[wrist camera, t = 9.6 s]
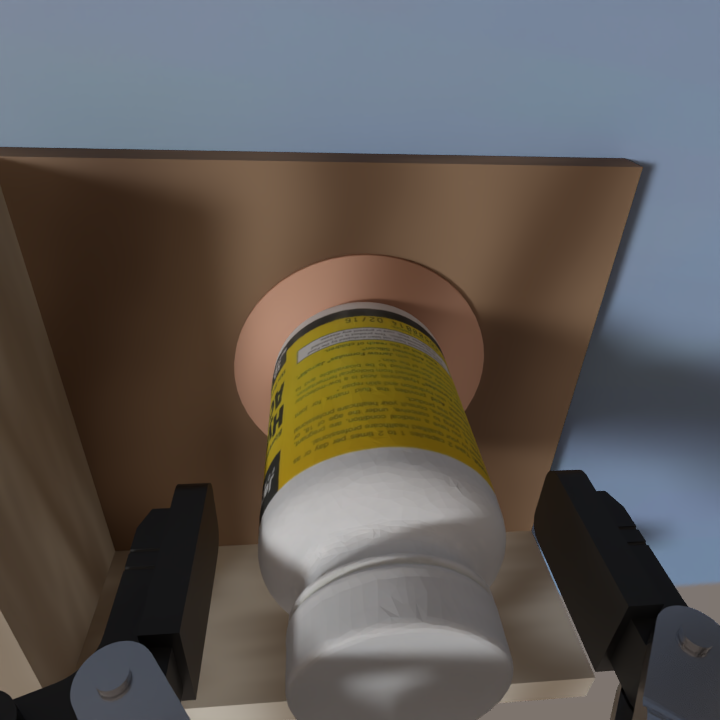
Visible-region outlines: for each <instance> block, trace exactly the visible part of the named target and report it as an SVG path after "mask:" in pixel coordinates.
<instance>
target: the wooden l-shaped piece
mask: <svg viewBox="0 0 720 720" xmlns="http://www.w3.org/2000/svg"><path fill="white" fill-rule="evenodd" d="M642 169H643V167H642V166H639V165H637V164H635V163H633V162H631V161H629V160H627V159H625V158H570V157H516V156H461V155H406V154H351V153H296V152H241V151H186V150H132V149H77V148H22V147H0V690H1V691H3V692H6V693H7V694H8V695H10V696H11V698H12V699H15V698H18V697H20V696H23V695H26V694H28V693H31V692H33V691H36V690H39V689H41V688H44V687H47V686H49V685H52V684H55V683H57V682H59V681H61V680H63V679H65V678H67V677H69V676H70V675H72V674H73V673H75V672H76V671H77V670H79V668H80V667H81V665H82V664H83V663H84V662H85V661H86V660H87V659H88V658H89V657H90V656H91V655H92V654H93V653H95V651H96V650H97V648H98V646H99V644H100V643H101V640H102V637H103V635H104V631H105V628H106V625H107V622H108V619H109V615H110V612H111V609H112V606H113V603H114V599H115V596H116V593H117V590H118V587H119V583H120V580H121V577H122V574H123V571H125V564H126V561H127V558H128V555H129V553H130V548H131V545H132V542H133V539H134V535H135V532H136V529H137V527H138V526H139V525H140V523H141V522H142V521H143V520H144V518H145V517H146V516H147V515H148V514H149V512H150V511H151V510H152V509H160V508H170V506H171V502H172V499H173V495H174V491H175V488H176V486H177V484H193V483H211V484H212V488H213V495H214V501H215V508H216V514H217V521H218V528H219V548H218V557H217V564H216V570H215V577H214V584H213V590H212V597H211V604H210V610H209V617H208V624H207V630H206V637H205V644H204V650H203V657H202V663H201V670H200V677H199V683H198V690H197V697H196V700H188V701H181V704H182V706H183V708H184V709H185V711H186V713H187V714H188V716H189V718H190V720H293V719H296V718H295V717H294V715H293V714H292V712H291V711H290V709H289V707H288V703H287V700H286V695H285V677H286V632H287V627H288V620H289V614H288V613H287V612H286V611H284V610H283V609H282V608H281V606H280V605H279V604H278V603H277V602H276V601H275V599H274V598H273V597H272V595H271V594H270V593H269V591H268V589H267V587H266V585H265V582H264V580H263V577H262V574H261V570H260V566H259V560H258V535H259V516H260V510H261V501H262V490H263V480H264V468H265V460H266V448H267V437H268V425H269V415H270V404H271V387H272V379H273V374H274V369H275V364H276V360H277V357H278V354H279V352H280V350H281V348H282V346H283V344H284V342H285V341H286V339H287V338H288V337H289V335H290V334H291V333H292V332H293V331H294V330H295V329H296V328H297V327H298V326H299V325H300V324H301V323H303V322H304V321H305V320H307V319H308V318H310V317H312V316H313V315H315V314H317V313H319V312H321V311H323V310H325V309H328V308H331V307H334V306H337V305H341V304H346V303H352V302H373V303H381V304H386V305H390V306H393V307H396V308H398V309H401V310H403V311H405V312H407V313H409V314H411V315H412V316H414V317H415V318H416V319H418V320H419V321H420V322H421V323H423V324H424V325H425V326H426V327H427V328H428V330H429V331H430V332H431V333H432V335H433V336H434V338H435V339H436V341H437V343H438V345H439V347H440V349H441V351H442V353H443V356H444V358H445V360H446V363H447V366H448V369H449V371H450V374H451V377H452V379H453V382H454V385H455V387H456V390H457V393H458V395H459V398H460V401H461V403H462V406H463V409H464V411H465V414H466V417H467V419H468V422H469V425H470V427H471V430H472V433H473V435H474V438H475V441H476V443H477V446H478V449H479V451H480V454H481V457H482V460H483V462H484V465H485V467H486V470H487V473H488V476H489V478H490V481H491V483H492V486H493V489H494V492H495V495H496V498H497V501H498V504H499V507H500V510H501V512H502V516H503V520H504V525H505V530H506V547H505V555H504V559H503V562H502V565H501V567H500V570H499V572H498V574H497V576H496V578H495V580H494V582H493V583H492V585H491V586H490V587H489V588H490V590H491V592H492V595H493V598H494V602H495V604H496V606H497V609H498V613H499V616H500V620H501V623H502V626H503V630H504V634H505V637H506V640H507V643H508V646H509V650H510V654H511V657H512V661H513V678H512V682H511V685H510V688H509V689H508V691H507V692H506V694H505V695H504V697H503V698H502V699H501V701H500V702H499V703H507V702H519V701H532V700H544V699H556V698H568V697H582V696H586V695H587V693H588V691H589V689H590V687H591V685H592V683H593V681H594V679H595V676H594V674H593V671H592V669H591V667H590V664H589V662H588V660H587V658H586V655H585V653H584V651H583V648H582V646H581V644H580V642H579V639H578V637H577V635H576V632H575V630H574V628H573V625H572V623H571V621H570V619H569V616H568V614H567V612H566V609H565V607H564V605H563V602H562V600H561V598H560V596H559V593H558V591H557V589H556V586H555V584H554V582H553V580H552V577H551V575H550V573H549V570H548V568H547V566H546V563H545V561H544V559H543V557H542V554H541V552H540V550H539V547H538V545H537V543H536V541H535V538H534V536H533V534H532V531H531V530H532V527H533V523H534V514H535V510H536V507H537V503H538V500H539V497H540V494H541V490H542V487H543V484H544V480H545V477H546V475H547V473H548V472H549V471H550V468H551V465H552V462H553V458H554V455H555V452H556V449H557V445H558V442H559V439H560V436H561V432H562V429H563V426H564V423H565V419H566V416H567V413H568V409H569V406H570V403H571V400H572V396H573V393H574V390H575V387H576V383H577V380H578V377H579V374H580V370H581V367H582V364H583V361H584V357H585V354H586V351H587V348H588V344H589V341H590V338H591V335H592V331H593V328H594V325H595V322H596V318H597V315H598V312H599V309H600V305H601V302H602V299H603V296H604V292H605V289H606V286H607V283H608V279H609V276H610V273H611V270H612V266H613V263H614V260H615V257H616V253H617V250H618V247H619V244H620V240H621V237H622V234H623V231H624V227H625V224H626V221H627V218H628V214H629V211H630V208H631V204H632V201H633V198H634V195H635V191H636V188H637V185H638V182H639V178H640V175H641V172H642Z"/></svg>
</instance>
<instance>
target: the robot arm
mask: <svg viewBox="0 0 720 720" xmlns="http://www.w3.org/2000/svg"><path fill="white" fill-rule="evenodd" d="M534 529H535V534H536V537H537V540H538V542H539V545H540V547H541V549H542V552H543V554H544V556H545V558H546V561H547V563H548V565H549V567H550V570H551V572H552V574H553V577H554V579H555V581H556V583H557V586H558V588H559V590H560V592H561V595H562V597H563V599H564V602H565V604H566V606H567V608H568V611H569V613H570V615H571V617H572V620H573V622H574V624H575V626H576V629H577V631H578V633H579V636H580V638H581V640H582V642H583V644H584V647H585V649H586V651H587V654H588V656H589V658H590V661H591V663H592V665H593V667H594V670H595V671H596V672H599V671H613V670H614V671H615V673H616V675H617V677H618V679H619V681H620V684H619V685H618V688H617V690H616V695H615V699H614V704H613V709H612V713H611V718H610V720H720V626H719V625H718V624H717V623H716V622H715V621H714V620H713V619H711V618H710V617H708V616H707V615H705V614H704V613H702V612H700V611H698V610H695V609H693V608H690V607H688V606H687V604H686V603H685V602H684V600H683V599H682V597H681V596H680V594H679V593H678V591H677V589H676V588H675V586H674V585H673V583H672V581H671V580H670V578H669V577H668V575H667V574H666V572H665V571H664V569H663V567H662V566H661V564H660V563H659V561H658V560H657V558H656V556H655V555H654V553H653V552H652V550H651V549H650V547H649V546H648V545H646V541H645V539H644V538H643V536H642V535H641V533H640V531H639V530H637V529H636V525H635V524H634V522H633V521H632V519H631V517H630V516H629V514H628V513H627V511H626V510H625V508H624V507H623V506H622V505H621V504H620V503H619V502H617V501H616V500H615V499H614V498H613V497H612V496H610V495H609V494H608V493H607V492H606V491H596V490H595V488H594V487H593V485H592V483H591V482H590V480H589V478H588V477H587V475H586V474H585V473H584V472H583V471H582V470H562V471H549V472H548V473H547V475H546V477H545V480H544V484H543V487H542V490H541V494H540V497H539V500H538V503H537V507H536V510H535V514H534ZM218 548H219V528H218V521H217V514H216V508H215V501H214V495H213V488H212V484H211V483H193V484H177V486H176V488H175V491H174V495H173V499H172V502H171V506H170V508H160V509H152V510H151V511H150V512H149V514H148V515H147V516H146V517H145V518H144V520H143V521H142V522H141V523H140V525H139V526H138V527H137V529H136V532H135V535H134V539H133V542H132V545H131V548H130V553H129V555H128V558H127V561H126V564H125V571H123V574H122V577H121V580H120V583H119V587H118V590H117V593H116V596H115V599H114V603H113V606H112V609H111V612H110V615H109V619H108V622H107V625H106V628H105V631H104V635H103V637H102V640H101V643H100V644H99V646H98V648H97V650H96V651H95V653H93V654H92V655H91V656H90V657H89V658H88V659H87V660H86V661H85V662H84V663H83V664H82V665H81V667H80V668H79V670H77V671H76V672H75V673H73V674H72V675H70V676H69V677H67V678H65V679H63V680H61V681H59V682H57V683H55V684H52V685H49V686H47V687H44V688H41V689H39V690H36V691H33V692H31V693H28V694H26V695H23V696H20V697H18V698H15V699H12V698H11V696H10V695H8V694H7V693H6V692H3V691H1V690H0V720H190V718H189V716H188V714H187V713H186V711H185V709H184V708H183V706H182V704H181V701H188V700H196V697H197V690H198V683H199V677H200V670H201V663H202V657H203V650H204V644H205V637H206V630H207V624H208V617H209V610H210V604H211V597H212V590H213V584H214V577H215V570H216V564H217V557H218Z"/></svg>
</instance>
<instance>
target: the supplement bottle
mask: <svg viewBox="0 0 720 720" xmlns="http://www.w3.org/2000/svg"><path fill="white" fill-rule="evenodd" d="M505 547H506V530H505V525H504V520H503V516H502V512H501V510H500V507H499V504H498V501H497V498H496V495H495V492H494V489H493V486H492V483H491V481H490V478H489V476H488V473H487V470H486V467H485V465H484V462H483V460H482V457H481V454H480V451H479V449H478V446H477V443H476V441H475V438H474V435H473V433H472V430H471V427H470V425H469V422H468V419H467V417H466V414H465V411H464V409H463V406H462V403H461V401H460V398H459V395H458V393H457V390H456V387H455V385H454V382H453V379H452V377H451V374H450V371H449V369H448V366H447V363H446V360H445V358H444V356H443V353H442V351H441V349H440V347H439V345H438V343H437V341H436V339H435V338H434V336H433V335H432V333H431V332H430V331H429V330H428V328H427V327H426V326H425V325H424V324H423V323H421V322H420V321H419V320H418V319H416V318H415V317H414V316H412V315H411V314H409V313H407V312H405V311H403V310H401V309H398V308H396V307H393V306H390V305H386V304H381V303H373V302H352V303H346V304H341V305H337V306H334V307H331V308H328V309H325V310H323V311H321V312H319V313H317V314H315V315H313V316H312V317H310V318H308V319H307V320H305V321H304V322H303V323H301V324H300V325H299V326H298V327H297V328H296V329H295V330H294V331H293V332H292V333H291V334H290V335H289V337H288V338H287V339H286V341H285V342H284V344H283V346H282V348H281V350H280V352H279V354H278V357H277V360H276V364H275V369H274V374H273V379H272V387H271V404H270V415H269V425H268V437H267V448H266V460H265V468H264V480H263V490H262V501H261V510H260V516H259V535H258V560H259V566H260V570H261V574H262V577H263V580H264V582H265V585H266V587H267V589H268V591H269V593H270V594H271V595H272V597H273V598H274V599H275V601H276V602H277V603H278V604H279V605H280V606H281V608H282V609H283V610H284V611H286V612H287V613H288V614H289V620H288V627H287V632H286V677H285V695H286V700H287V703H288V707H289V709H290V711H291V712H292V714H293V715H294V717H295V718H296V719H297V720H477V719H478V718H480V717H482V716H483V715H484V714H486V713H487V712H488V711H490V710H491V709H492V708H493V707H494V706H495V705H496V704H498V703H499V702H500V701H501V699H502V698H503V697H504V695H505V694H506V692H507V691H508V689H509V688H510V685H511V682H512V678H513V661H512V657H511V654H510V650H509V646H508V643H507V640H506V637H505V634H504V630H503V626H502V623H501V620H500V616H499V613H498V609H497V606H496V604H495V602H494V598H493V595H492V592H491V590H490V588H489V587H490V586H491V585H492V583H493V582H494V580H495V578H496V576H497V574H498V572H499V570H500V567H501V565H502V562H503V559H504V555H505Z"/></svg>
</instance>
